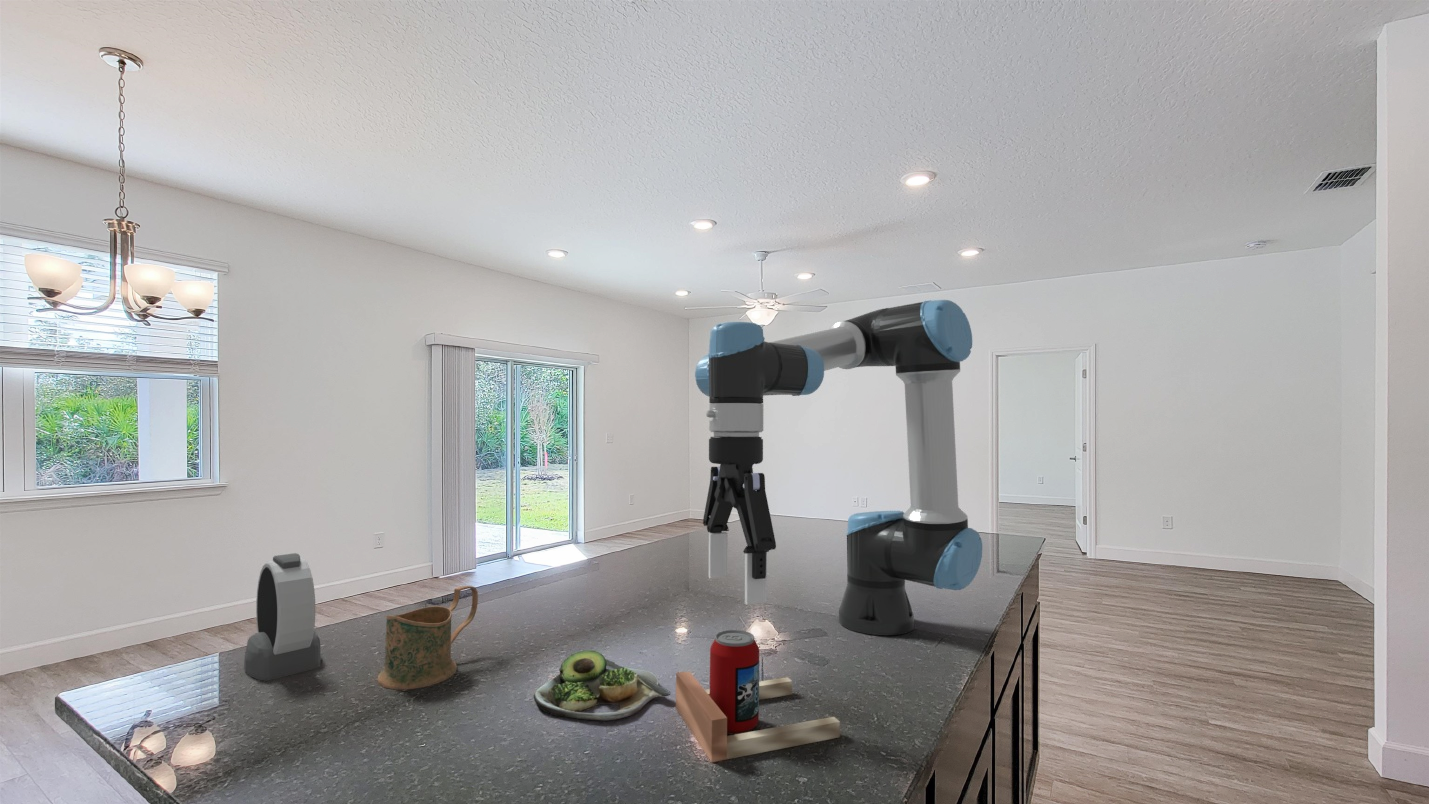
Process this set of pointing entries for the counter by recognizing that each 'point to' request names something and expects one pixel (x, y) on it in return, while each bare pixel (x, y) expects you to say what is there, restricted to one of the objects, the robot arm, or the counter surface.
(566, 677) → the avocado toast plate
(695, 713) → the guide channel
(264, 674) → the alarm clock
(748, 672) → the beverage can
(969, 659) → the counter surface
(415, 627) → the mug
